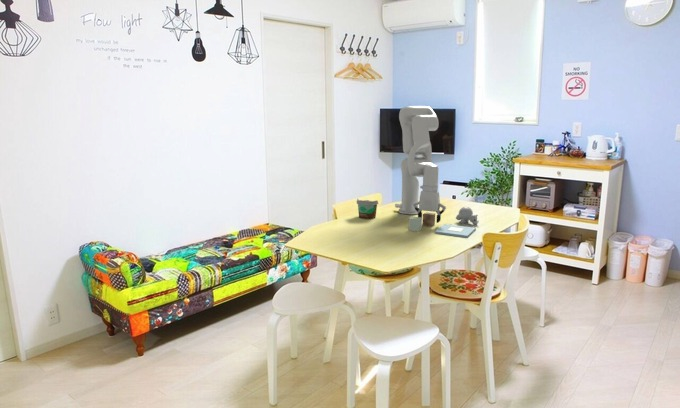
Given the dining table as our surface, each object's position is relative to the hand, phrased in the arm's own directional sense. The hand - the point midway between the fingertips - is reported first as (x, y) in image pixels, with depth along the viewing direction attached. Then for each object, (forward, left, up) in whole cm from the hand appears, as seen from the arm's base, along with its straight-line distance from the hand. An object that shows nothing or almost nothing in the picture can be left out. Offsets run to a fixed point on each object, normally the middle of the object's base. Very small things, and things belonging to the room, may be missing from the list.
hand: (429, 221), depth 261 cm
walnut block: (0, 0, -2) cm, 2 cm away
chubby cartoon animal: (+17, +13, -2) cm, 22 cm away
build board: (+16, -6, -2) cm, 17 cm away
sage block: (-3, -12, -2) cm, 12 cm away
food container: (-35, -3, -2) cm, 35 cm away
